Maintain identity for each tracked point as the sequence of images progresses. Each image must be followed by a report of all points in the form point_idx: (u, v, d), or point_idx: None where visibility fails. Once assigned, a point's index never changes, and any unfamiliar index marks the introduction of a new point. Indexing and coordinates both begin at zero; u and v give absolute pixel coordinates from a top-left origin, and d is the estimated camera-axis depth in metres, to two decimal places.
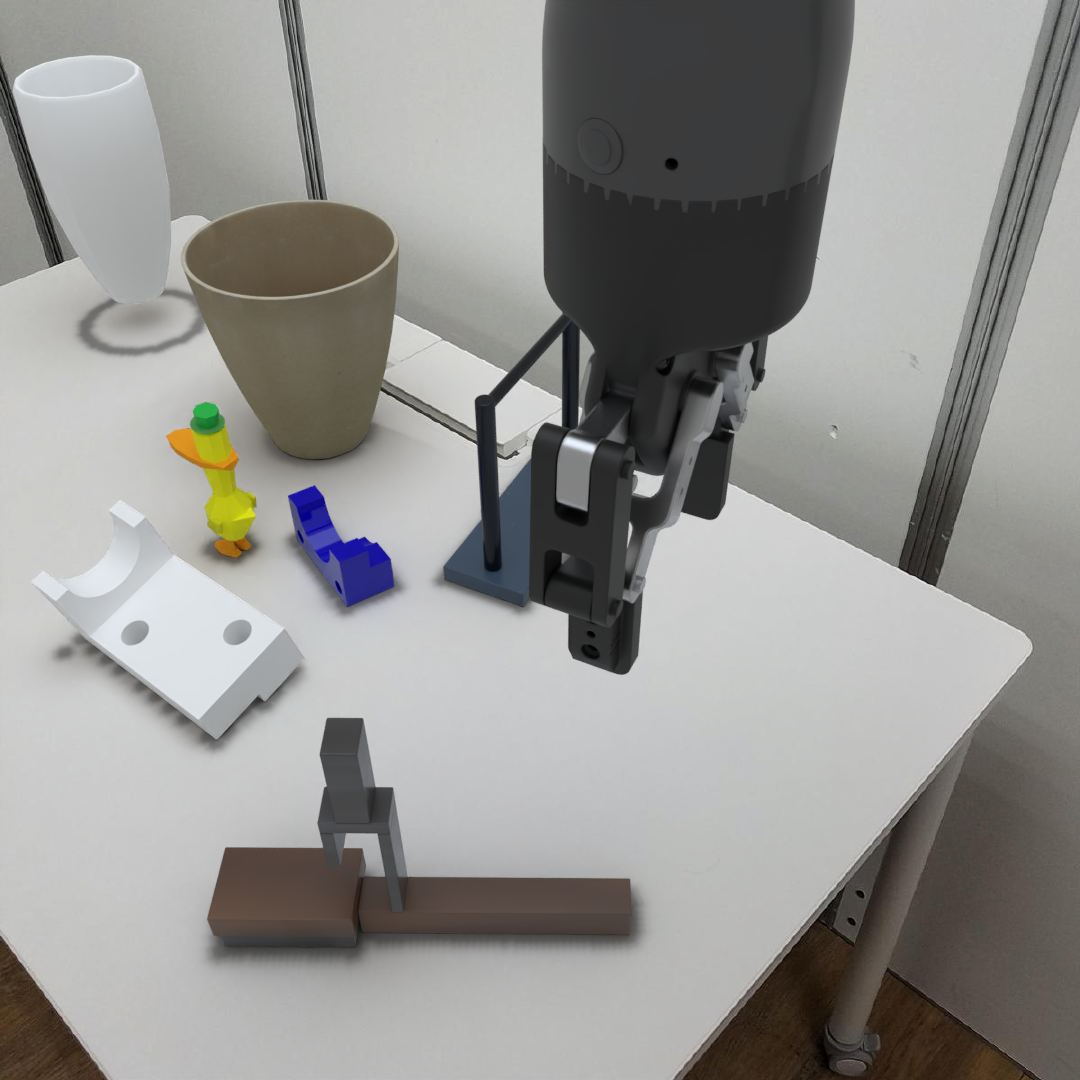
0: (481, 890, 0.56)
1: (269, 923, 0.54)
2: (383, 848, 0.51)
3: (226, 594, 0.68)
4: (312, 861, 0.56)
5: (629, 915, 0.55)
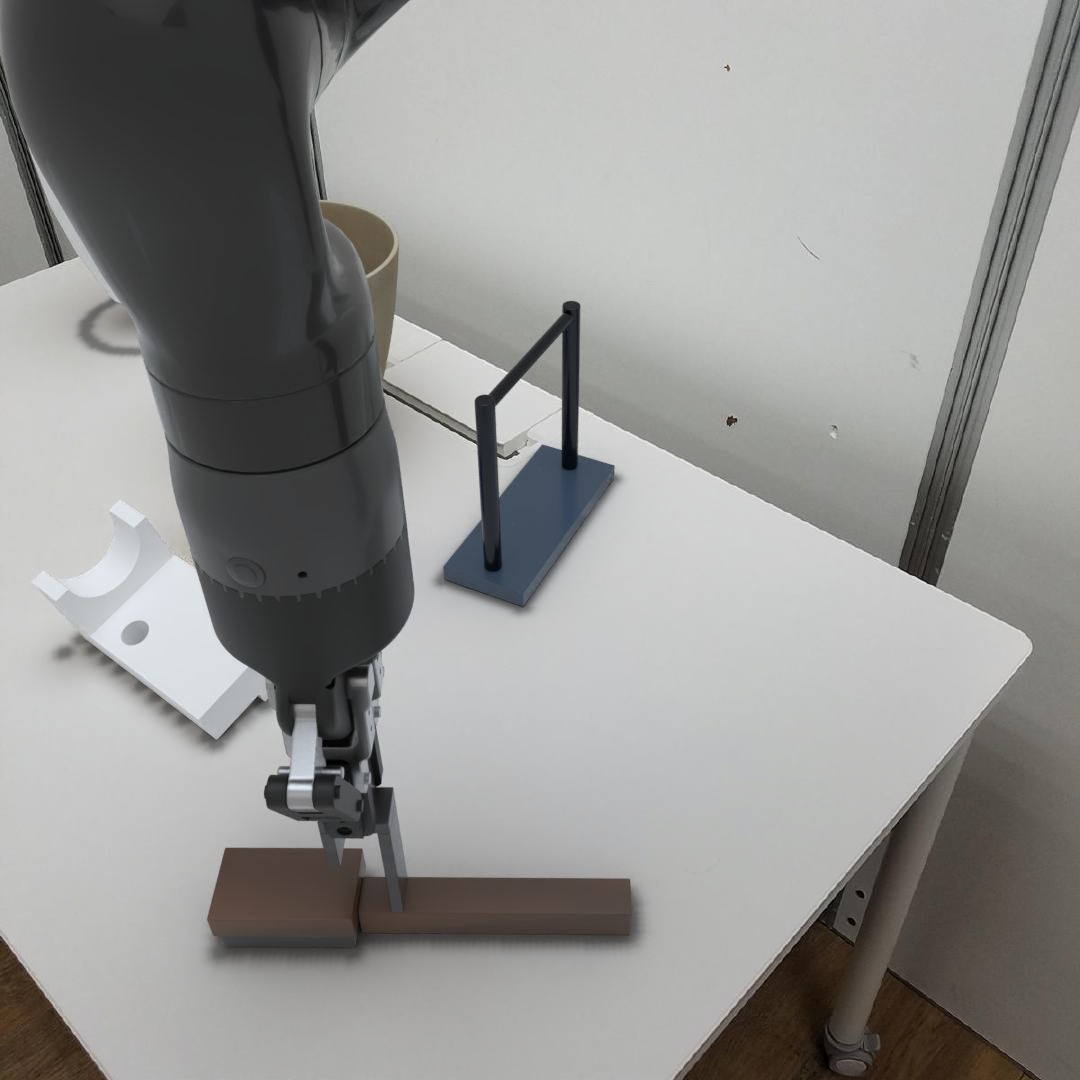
0: (481, 890, 0.56)
1: (269, 923, 0.54)
2: (383, 848, 0.51)
3: None
4: (312, 861, 0.56)
5: (629, 915, 0.55)
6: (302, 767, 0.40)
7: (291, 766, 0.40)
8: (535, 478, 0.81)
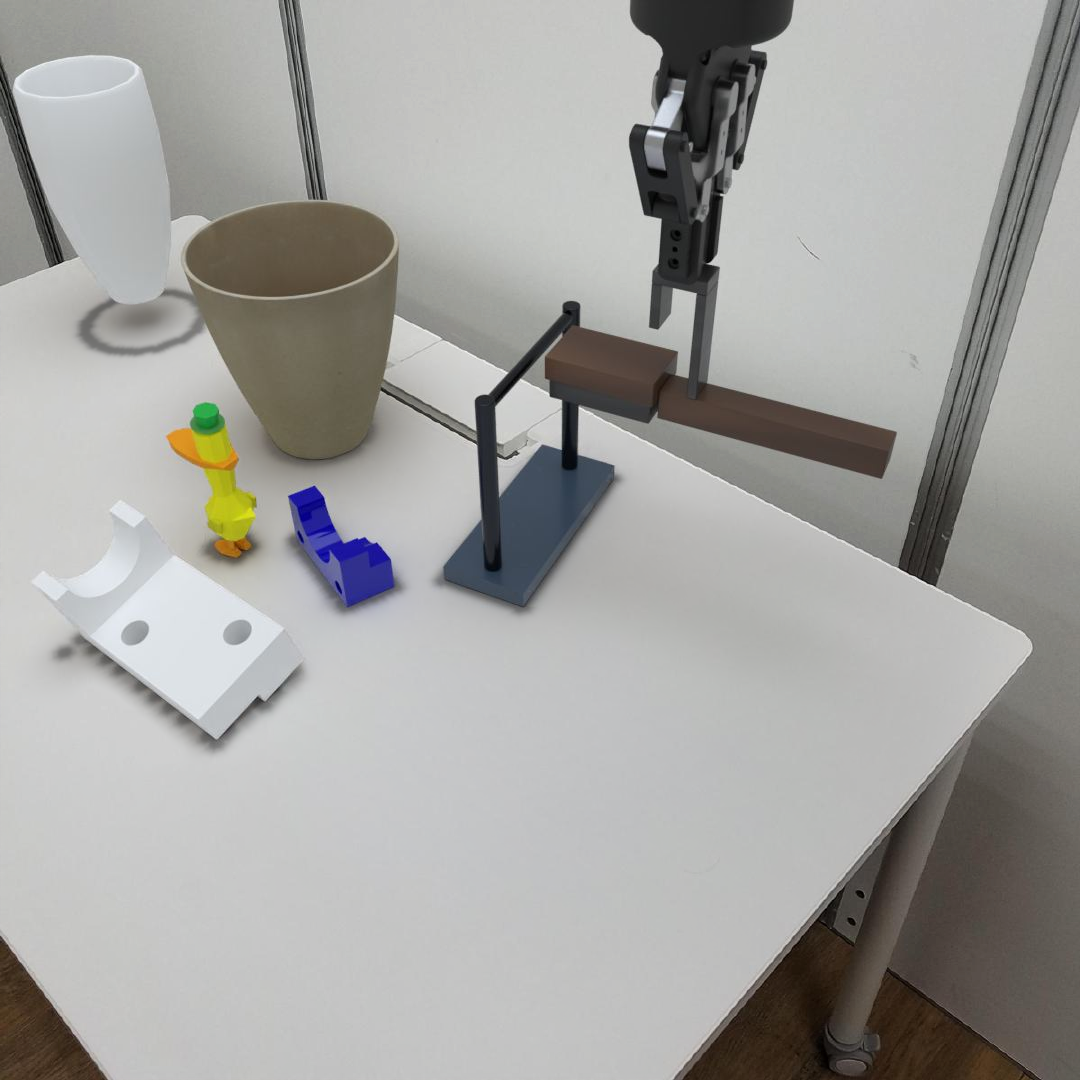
0: (764, 405, 0.64)
1: (589, 373, 0.66)
2: (697, 313, 0.61)
3: (226, 594, 0.68)
4: (635, 348, 0.67)
5: (886, 452, 0.61)
6: (663, 120, 0.51)
7: (655, 119, 0.51)
8: (535, 478, 0.81)
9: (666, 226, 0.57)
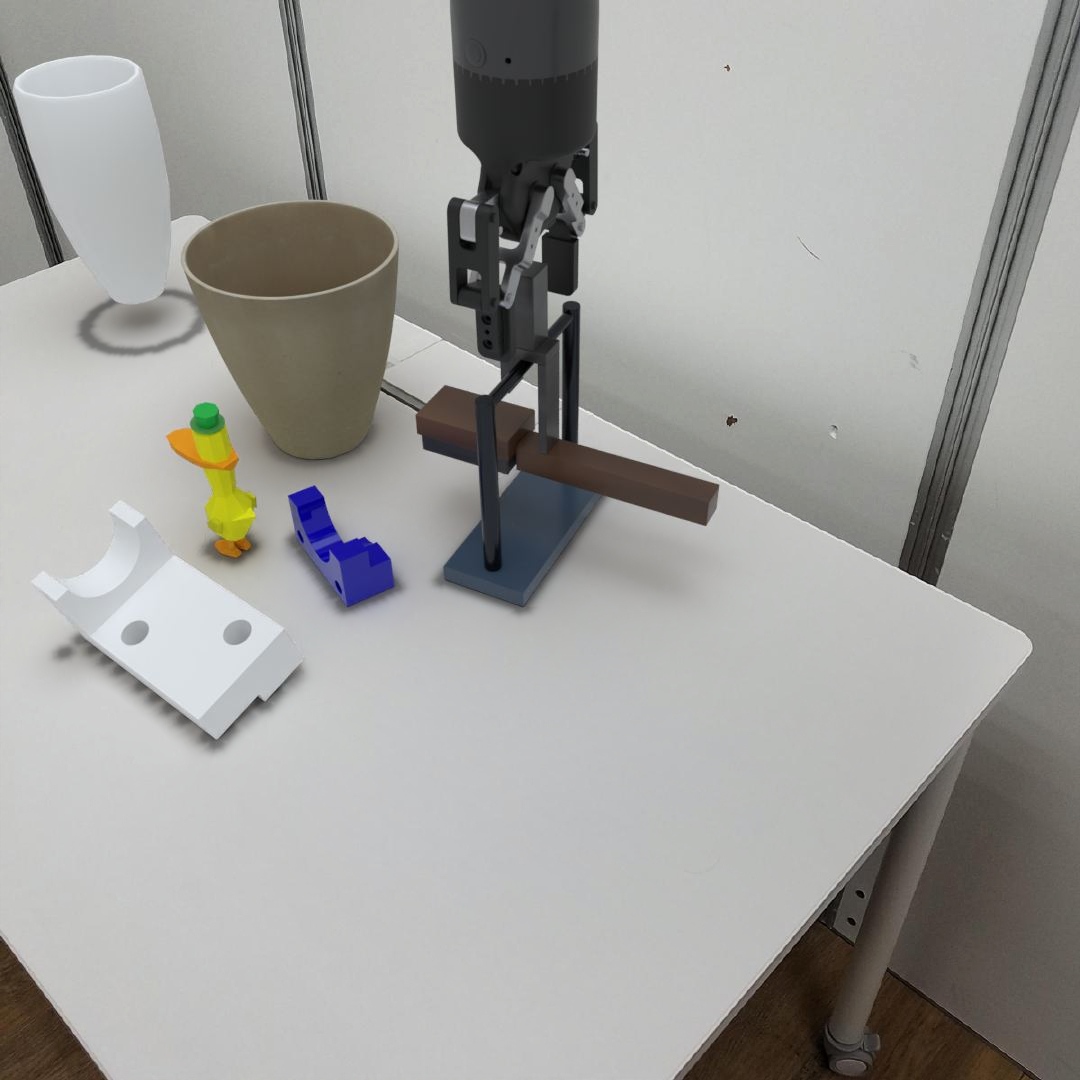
0: (607, 459, 0.72)
1: (454, 430, 0.74)
2: (539, 380, 0.69)
3: (226, 594, 0.68)
4: (497, 406, 0.75)
5: (706, 503, 0.69)
6: (480, 199, 0.58)
7: (474, 198, 0.58)
8: (535, 478, 0.81)
9: (477, 311, 0.62)
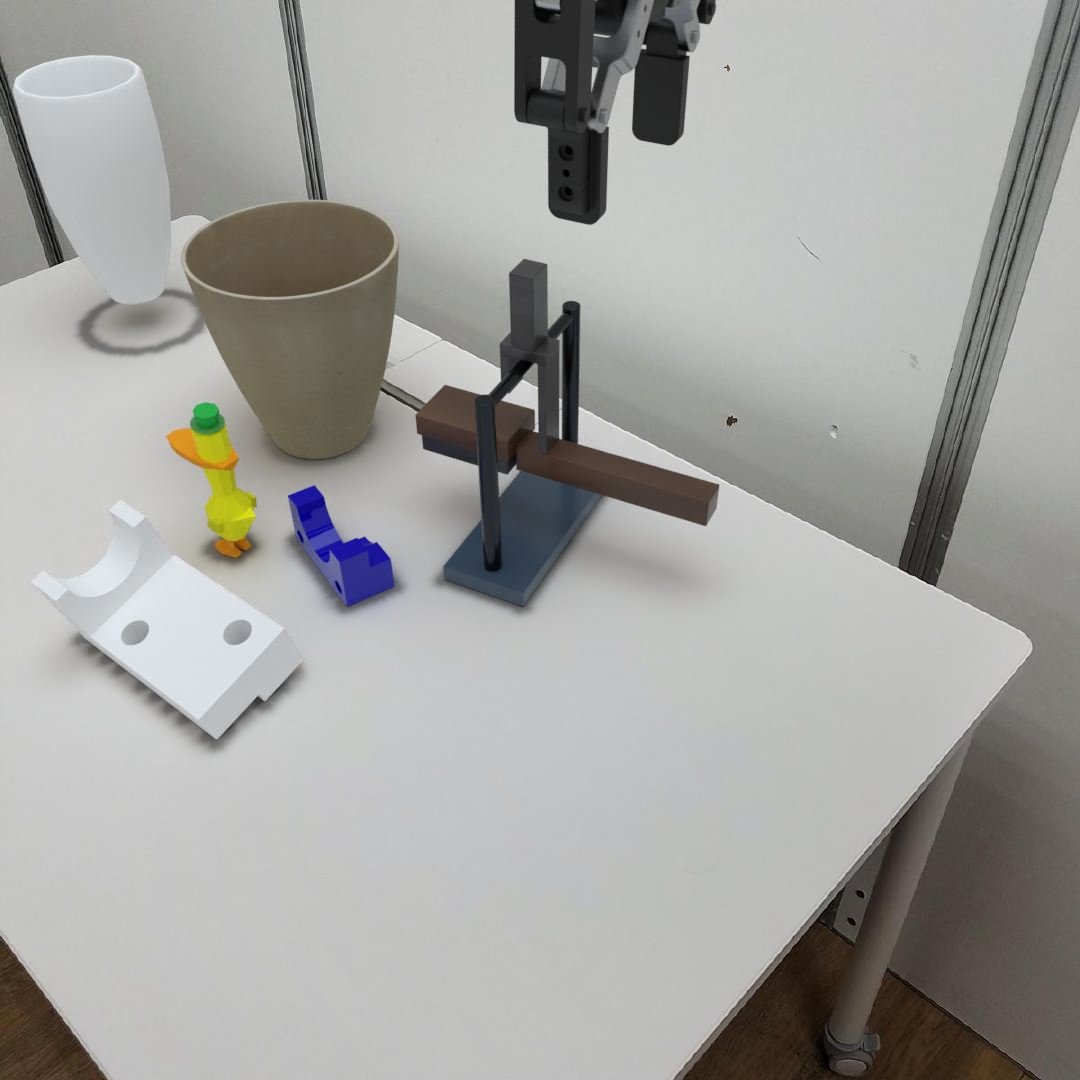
0: (606, 459, 0.72)
1: (454, 430, 0.74)
2: (539, 381, 0.69)
3: (226, 594, 0.68)
4: (497, 406, 0.75)
5: (706, 503, 0.69)
6: None
7: None
8: (535, 478, 0.81)
9: (552, 140, 0.41)
